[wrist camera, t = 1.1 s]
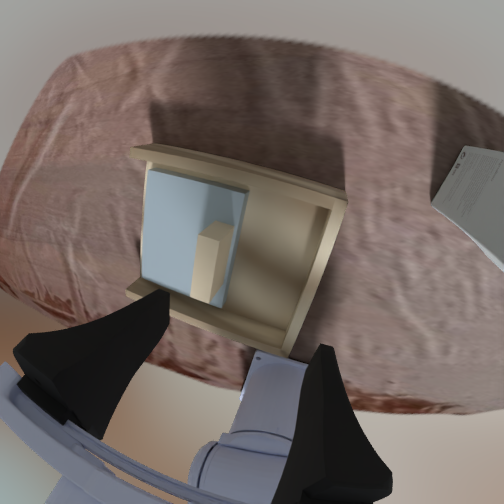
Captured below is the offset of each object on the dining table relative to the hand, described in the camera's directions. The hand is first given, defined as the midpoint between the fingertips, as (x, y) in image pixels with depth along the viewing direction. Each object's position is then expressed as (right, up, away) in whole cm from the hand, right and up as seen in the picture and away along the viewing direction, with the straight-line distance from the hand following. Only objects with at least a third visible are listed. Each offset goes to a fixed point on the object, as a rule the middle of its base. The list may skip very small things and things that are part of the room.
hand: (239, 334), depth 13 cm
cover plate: (-4, +5, +11) cm, 13 cm away
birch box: (-2, +4, +11) cm, 12 cm away
